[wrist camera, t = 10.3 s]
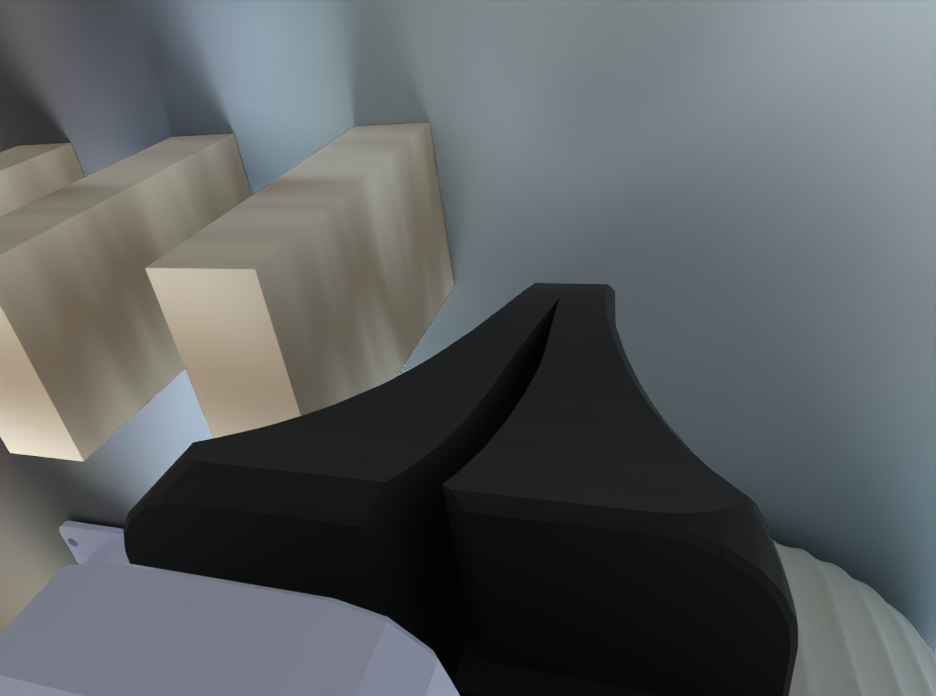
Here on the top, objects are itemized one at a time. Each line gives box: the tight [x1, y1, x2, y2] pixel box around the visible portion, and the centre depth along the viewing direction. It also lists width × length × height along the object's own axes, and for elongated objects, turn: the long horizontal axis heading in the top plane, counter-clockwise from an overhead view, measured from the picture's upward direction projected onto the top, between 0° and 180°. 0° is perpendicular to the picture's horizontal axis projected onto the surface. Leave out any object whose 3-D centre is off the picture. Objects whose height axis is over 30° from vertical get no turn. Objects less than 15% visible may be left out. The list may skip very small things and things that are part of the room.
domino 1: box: [145, 122, 454, 438], centre depth 15 cm, size 4×2×8 cm, turn 8°
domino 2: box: [0, 133, 252, 462], centre depth 17 cm, size 4×2×8 cm, turn 8°
